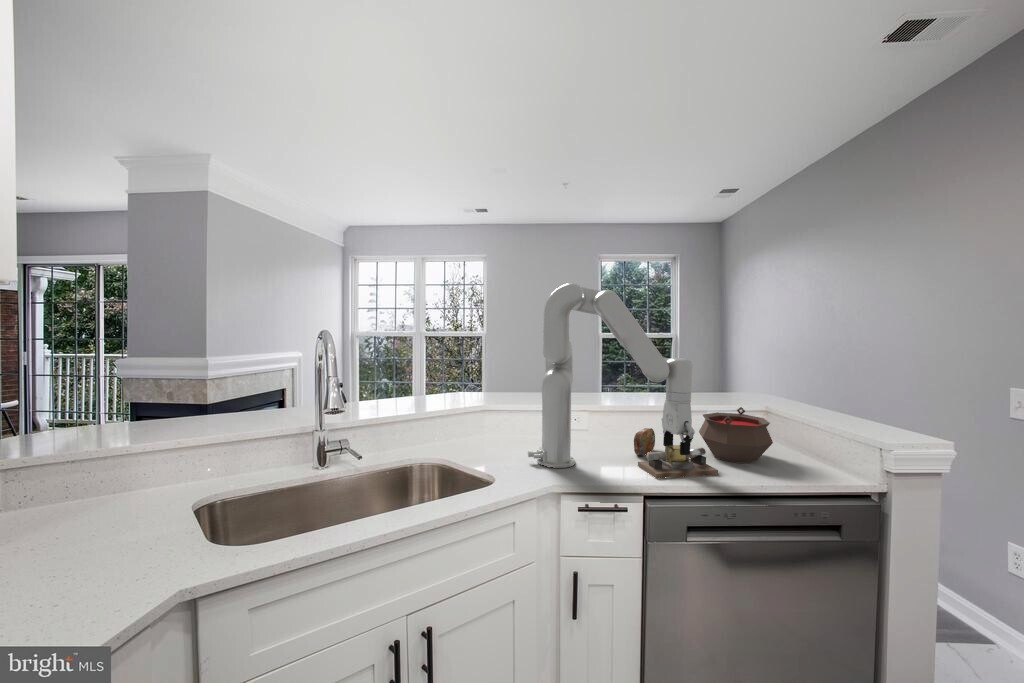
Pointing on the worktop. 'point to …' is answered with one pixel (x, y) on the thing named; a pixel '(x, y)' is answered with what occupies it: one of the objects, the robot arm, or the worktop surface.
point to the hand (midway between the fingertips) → (676, 450)
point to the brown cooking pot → (736, 436)
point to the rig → (673, 467)
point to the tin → (644, 441)
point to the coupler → (675, 454)
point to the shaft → (698, 456)
